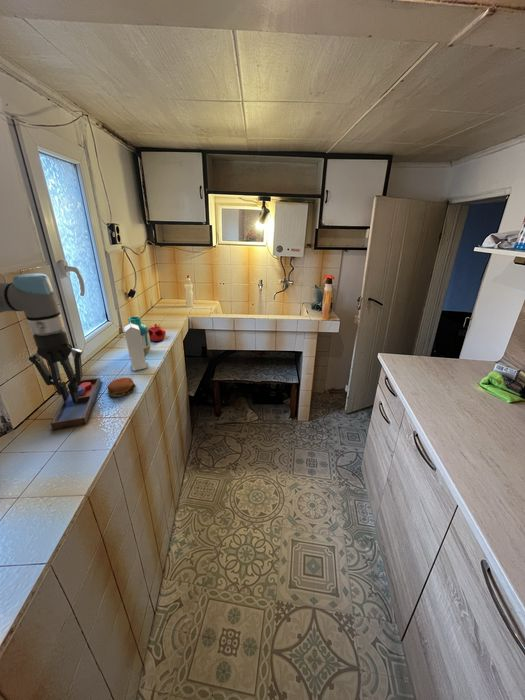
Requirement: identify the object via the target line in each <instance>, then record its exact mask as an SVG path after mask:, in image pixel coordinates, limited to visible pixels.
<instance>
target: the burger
mask: <svg viewBox="0 0 525 700" xmlns="http://www.w3.org/2000/svg"><path fill="white" fill-rule="evenodd" d="M136 387H137V386H136V384H135V382H134V380H133V379H132V378H131V377H120V378H117V379H114V380H112V381H110V382H109V384H108V385H107V394H108V395H109V396H110V397H112V398H119V397H122V396H126V395H129V394H131V392H133V391H134V390H135V389H136Z"/></svg>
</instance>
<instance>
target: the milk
mask: <svg viewBox="0 0 525 700" xmlns="http://www.w3.org/2000/svg"><path fill="white" fill-rule="evenodd" d="M123 331H124V336H125V341H126V345H127V351H128V355H129V359H130V364H131V368H132V371H133V372H134V371H139V370H144V369H147V368H148V366H147V361H146V357H145V354H144V351H143V345H142V340H141V335H140V330H139V327H138V326H137V325H135V324H132V323H130V324H129V323H128V324H127V325H125V326H124V327H123Z"/></svg>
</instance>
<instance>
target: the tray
mask: <svg viewBox="0 0 525 700" xmlns="http://www.w3.org/2000/svg"><path fill="white" fill-rule="evenodd" d="M84 382H90V383H91V386H92V387H91V388H90V389H89V390H87V392H86V394H85V396H82V397H78V400H77V402H76V403H74V405H73V407H67V406H66V404H65V403H64V400H63V399H62V400H61V403H60V405H59V407H58V409H57V411H56V413H55V414H54V416H53V418H52V420H51V422H50V426H51V429H52V430H53V431H54V430H60V429H65V428H70V427H71V428H72V427H77V426H82V425H87V423H88V420H89V417H90V415H91V412H92V409H93V407H94V404H95V401H96V398H97V396H98V393H99V390H100V388H101V385H102V380H101V377H100V376H99V377H93V378H85V379H81V380H80V381H79V382H77V384H78V386H79V385H80V384H82V383H84ZM67 390H68V393H69V389H67Z"/></svg>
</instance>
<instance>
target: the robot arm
mask: <svg viewBox="0 0 525 700" xmlns="http://www.w3.org/2000/svg"><path fill="white" fill-rule="evenodd" d="M12 281H13V282H10V281H9V282H8V281H7V282H6V281H5V282H4V281H0V313H5V312H23V313H24V316H25V319H26V321H27V324H28V326H29V329H30V332H31V333H32V338H33V340H34V343H35V346H36V349H37V350H36V352H35V353H32V354H31V355H30V356H29V357H28V360H29V362H31V363H32V364H33V365H34V367H35V368H36V369H37V372H38V373H39V375H40V376H41V378H42V379H43V381H44V383H45V385H46V386H54V387H55V390H56V392H57V395H59V396H61V397H62V401H63V400H64V403H65V402H66V400H67V398H68V396H69V393H68V390H69V391H70V394H71V397H72V400H73V403H76V402H77V400H78V395H77V392H78V390H79V387H78V384H77V382H79V381H80V380H82V379H83V364H82V354H83V352H84V350H83V349H82V348H79V349H78V348H74V347H73V346H72V344H70V341H69V338H68V334H67V331H66V329H64V328H65V324H64V320H63V318H62V315H61V311H60V309H59V305H58V303H57V298H56V295H55V289H54V288H53V286H52V283H51V282H52V281H51V280H50V278H49V276H48V275H47V274H45V273H40V272H37V273H35V272H34V273H22V274H17V275H15V276H13V277H12ZM70 354H72V356H73V357H74V358H73V363H74V368H73V366H72V364H71V362H70ZM43 359H44V360H45V361H46V362H47V365H46V364H45V362H44V360H43ZM58 363H59V364H60V365H61V366H62V368H63V370H64V373H65V375H66V378H67V380H68V383H67V385H66V382H65V381H63V379H62V377H61V373H60V369H59V364H58ZM47 366H48V367H49V368H48V367H47ZM65 404H66V403H65Z"/></svg>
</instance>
